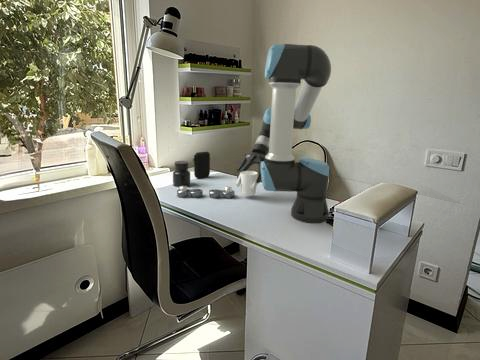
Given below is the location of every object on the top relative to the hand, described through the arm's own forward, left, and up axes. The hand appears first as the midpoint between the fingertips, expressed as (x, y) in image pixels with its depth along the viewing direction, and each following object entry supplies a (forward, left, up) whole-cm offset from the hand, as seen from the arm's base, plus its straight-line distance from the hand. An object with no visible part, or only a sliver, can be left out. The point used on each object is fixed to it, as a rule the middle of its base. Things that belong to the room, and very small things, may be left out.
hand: (245, 186), depth 147 cm
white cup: (+3, -2, -4) cm, 6 cm away
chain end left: (+3, +26, -6) cm, 27 cm away
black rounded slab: (+35, +23, -6) cm, 42 cm away
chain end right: (+3, +11, -6) cm, 13 cm away
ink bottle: (+21, +32, -6) cm, 39 cm away
